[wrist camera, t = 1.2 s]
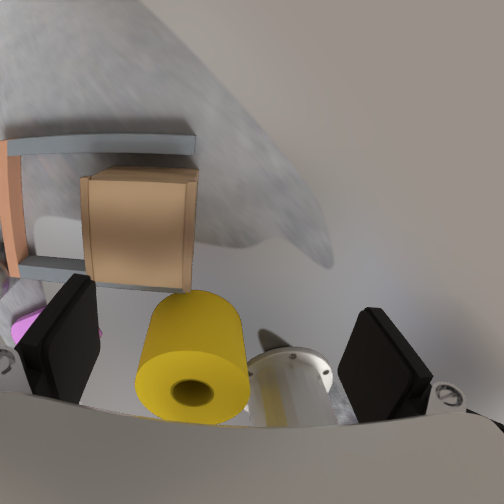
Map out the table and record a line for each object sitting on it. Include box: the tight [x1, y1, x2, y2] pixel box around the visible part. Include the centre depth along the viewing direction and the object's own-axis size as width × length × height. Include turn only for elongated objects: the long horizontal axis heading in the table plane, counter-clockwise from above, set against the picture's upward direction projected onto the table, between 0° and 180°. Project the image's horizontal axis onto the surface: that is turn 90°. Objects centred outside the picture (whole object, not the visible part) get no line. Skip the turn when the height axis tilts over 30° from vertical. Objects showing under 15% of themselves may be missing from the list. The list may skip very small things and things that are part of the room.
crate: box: [80, 166, 199, 293], centre depth 25 cm, size 8×8×7 cm
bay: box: [0, 133, 196, 294], centre depth 27 cm, size 14×20×2 cm
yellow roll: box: [135, 290, 250, 425], centre depth 30 cm, size 10×10×9 cm
